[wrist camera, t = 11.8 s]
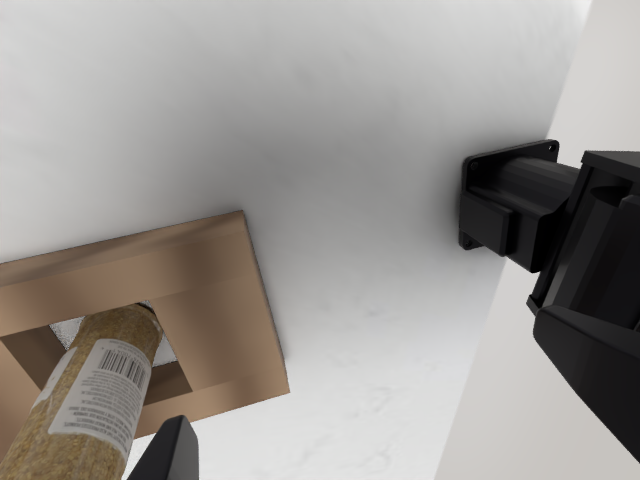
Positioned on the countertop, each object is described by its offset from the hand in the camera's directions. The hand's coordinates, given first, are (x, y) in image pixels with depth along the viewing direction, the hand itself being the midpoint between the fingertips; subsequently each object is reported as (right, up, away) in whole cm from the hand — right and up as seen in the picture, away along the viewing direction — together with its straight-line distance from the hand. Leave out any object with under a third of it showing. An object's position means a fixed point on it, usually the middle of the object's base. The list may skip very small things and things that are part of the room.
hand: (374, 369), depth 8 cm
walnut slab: (-14, -2, +13) cm, 19 cm away
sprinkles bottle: (-13, -2, +13) cm, 19 cm away
